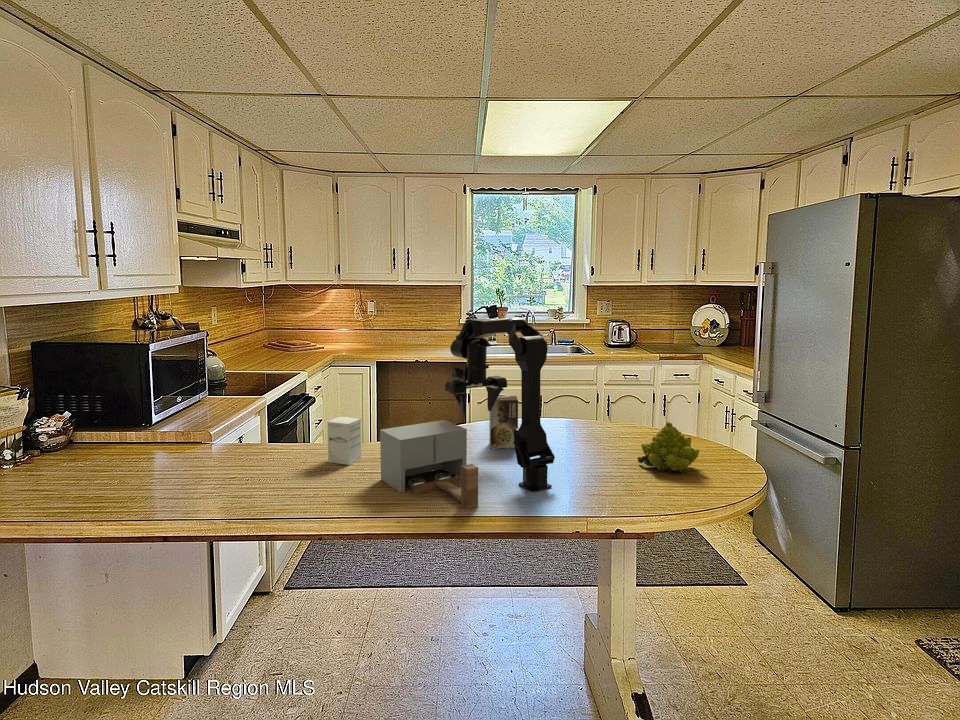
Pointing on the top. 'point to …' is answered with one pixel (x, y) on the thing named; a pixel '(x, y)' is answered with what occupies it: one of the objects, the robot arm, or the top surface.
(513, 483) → the top surface
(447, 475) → the disc right
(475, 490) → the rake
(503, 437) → the coffee box
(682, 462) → the vegetable
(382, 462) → the cabinet
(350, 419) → the supplement box
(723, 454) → the top surface
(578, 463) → the top surface
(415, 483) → the disc left
